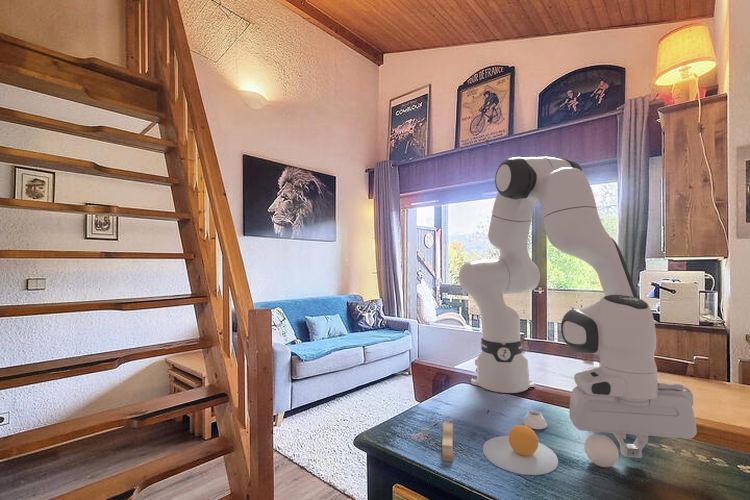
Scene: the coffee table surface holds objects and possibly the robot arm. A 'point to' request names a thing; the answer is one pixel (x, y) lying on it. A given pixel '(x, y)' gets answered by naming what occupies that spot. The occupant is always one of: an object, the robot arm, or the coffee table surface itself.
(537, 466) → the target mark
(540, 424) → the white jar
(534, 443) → the orange ball
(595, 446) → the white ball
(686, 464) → the coffee table surface
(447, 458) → the wall
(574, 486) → the coffee table surface
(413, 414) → the coffee table surface
